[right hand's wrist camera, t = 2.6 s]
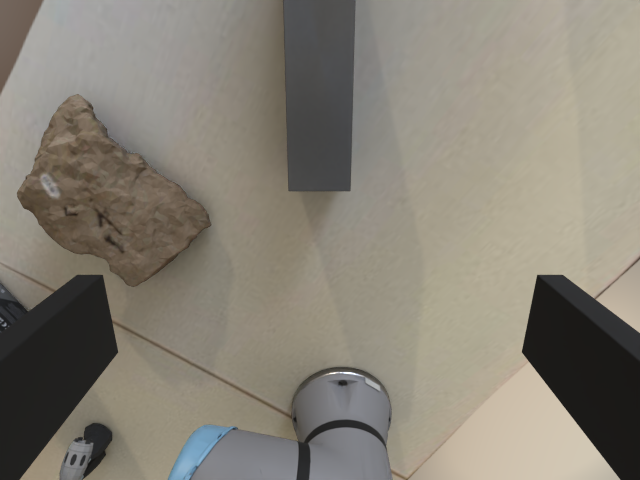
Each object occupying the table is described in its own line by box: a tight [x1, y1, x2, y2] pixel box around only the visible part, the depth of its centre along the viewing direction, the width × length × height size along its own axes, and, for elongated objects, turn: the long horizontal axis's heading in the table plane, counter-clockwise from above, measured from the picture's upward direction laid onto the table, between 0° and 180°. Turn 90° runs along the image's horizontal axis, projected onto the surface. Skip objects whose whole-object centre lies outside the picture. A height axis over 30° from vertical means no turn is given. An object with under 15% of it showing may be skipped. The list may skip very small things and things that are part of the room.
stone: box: [17, 94, 211, 286], centre depth 50 cm, size 21×15×6 cm
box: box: [283, 0, 355, 191], centre depth 42 cm, size 26×6×10 cm, turn 0°
